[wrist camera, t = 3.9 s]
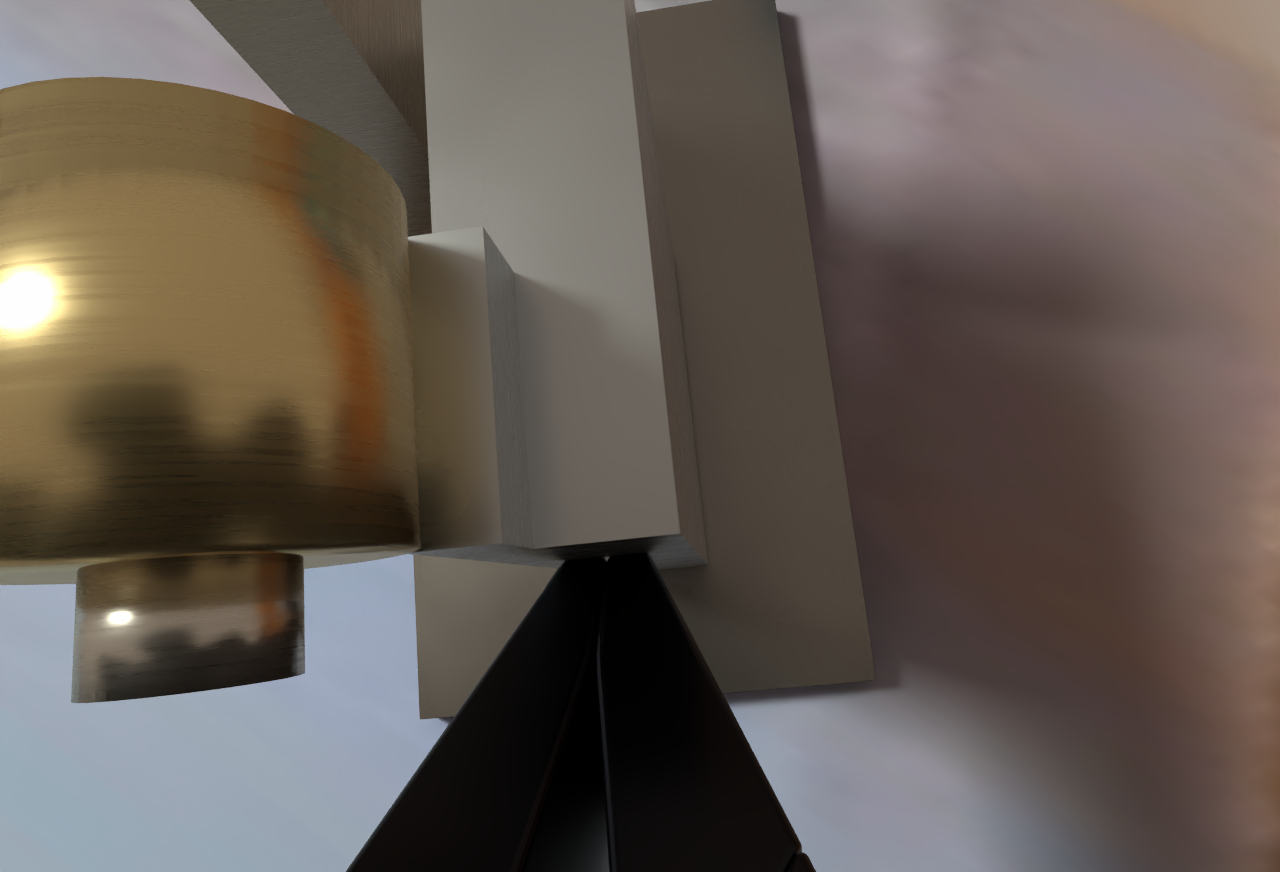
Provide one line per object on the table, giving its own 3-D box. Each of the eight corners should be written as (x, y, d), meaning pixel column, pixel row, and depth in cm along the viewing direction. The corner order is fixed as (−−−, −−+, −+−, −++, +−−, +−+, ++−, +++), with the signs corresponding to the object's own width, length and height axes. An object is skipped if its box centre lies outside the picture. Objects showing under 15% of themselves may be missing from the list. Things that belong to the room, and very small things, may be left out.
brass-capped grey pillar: (711, 600, 14) (655, 664, 3) (513, 619, 14) (-278, 750, 3) (672, 244, 15) (523, -705, 4) (492, 268, 15) (-114, -549, 4)
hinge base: (870, 677, 14) (1691, 1196, 2) (430, 714, 14) (-819, 1264, 3) (772, 8, 16) (887, -1422, 5) (403, 67, 17) (-293, -1051, 5)
